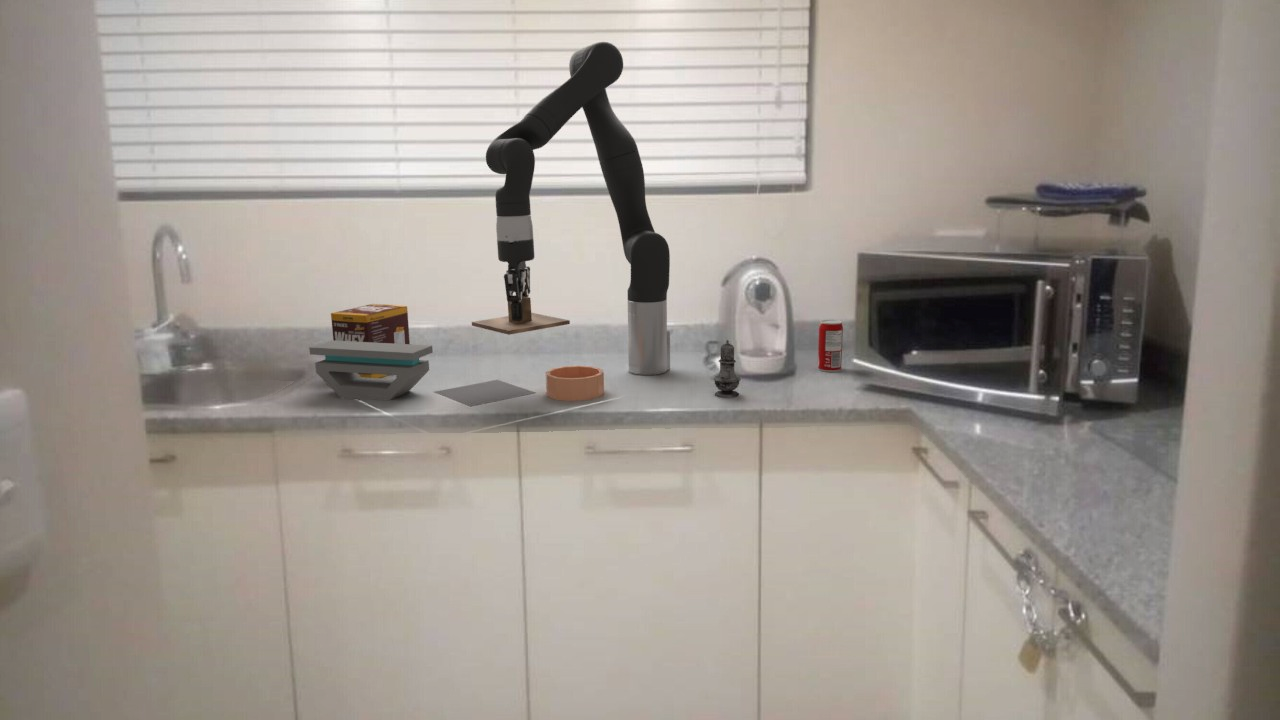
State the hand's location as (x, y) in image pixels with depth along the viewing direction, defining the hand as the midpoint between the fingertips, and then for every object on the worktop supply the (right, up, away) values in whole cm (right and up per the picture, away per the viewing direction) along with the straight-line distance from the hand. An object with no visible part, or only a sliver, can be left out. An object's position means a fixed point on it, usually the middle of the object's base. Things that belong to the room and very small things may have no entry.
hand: (520, 317), depth 182 cm
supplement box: (-39, -12, +25) cm, 48 cm away
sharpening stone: (-32, -17, +4) cm, 37 cm away
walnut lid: (0, -1, 0) cm, 1 cm away
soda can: (+71, -11, +23) cm, 75 cm away
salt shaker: (+44, -17, +1) cm, 47 cm away
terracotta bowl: (+12, -16, +2) cm, 20 cm away
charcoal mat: (-8, -16, +4) cm, 19 cm away
